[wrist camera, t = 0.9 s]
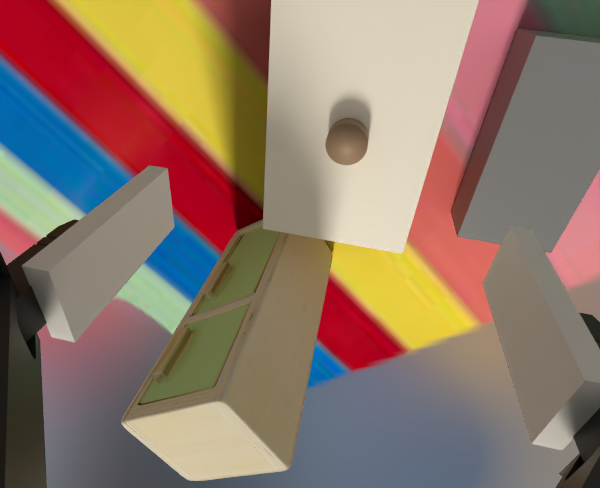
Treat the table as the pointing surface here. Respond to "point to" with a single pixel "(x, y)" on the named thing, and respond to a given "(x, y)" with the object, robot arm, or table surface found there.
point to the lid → (356, 113)
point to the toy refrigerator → (238, 361)
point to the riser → (535, 141)
